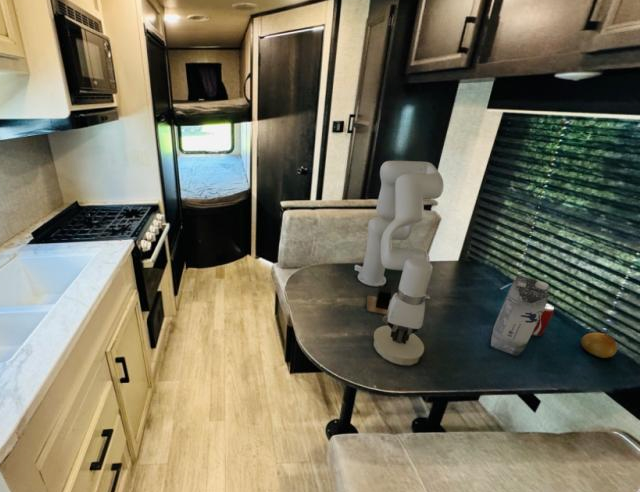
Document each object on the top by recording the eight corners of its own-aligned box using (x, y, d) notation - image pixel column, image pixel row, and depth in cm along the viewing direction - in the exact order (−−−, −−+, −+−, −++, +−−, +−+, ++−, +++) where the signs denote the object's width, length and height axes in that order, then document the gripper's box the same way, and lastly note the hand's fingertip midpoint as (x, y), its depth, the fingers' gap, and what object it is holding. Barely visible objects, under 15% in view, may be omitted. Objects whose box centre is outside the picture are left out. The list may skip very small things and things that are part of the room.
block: (375, 307, 129) (378, 291, 125) (375, 301, 133) (378, 285, 129) (387, 310, 127) (391, 293, 124) (387, 303, 131) (390, 287, 128)
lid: (365, 343, 107) (368, 328, 105) (384, 321, 117) (388, 307, 114) (413, 369, 97) (418, 353, 95) (430, 343, 107) (435, 328, 104)
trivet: (366, 311, 127) (367, 310, 127) (367, 296, 137) (367, 295, 136) (396, 317, 124) (396, 316, 124) (394, 301, 133) (394, 300, 133)
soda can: (542, 338, 113) (556, 312, 108) (523, 332, 116) (536, 306, 110) (541, 330, 116) (554, 304, 111) (523, 325, 119) (535, 299, 114)
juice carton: (487, 347, 109) (515, 282, 98) (490, 331, 116) (517, 269, 105) (520, 360, 104) (553, 293, 92) (521, 343, 111) (553, 279, 99)
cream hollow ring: (366, 349, 109) (367, 341, 107) (383, 328, 118) (385, 321, 116) (410, 373, 99) (412, 365, 98) (425, 349, 108) (428, 342, 107)
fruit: (623, 362, 100) (625, 337, 100) (588, 355, 103) (589, 331, 104) (607, 357, 107) (609, 334, 108) (575, 351, 110) (576, 328, 111)
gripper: (437, 294, 99) (423, 338, 107) (382, 284, 105) (373, 327, 113) (441, 308, 93) (426, 354, 101) (383, 296, 98) (373, 341, 106)
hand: (398, 339), depth 107 cm, fingers closed on lid, 2 cm apart
